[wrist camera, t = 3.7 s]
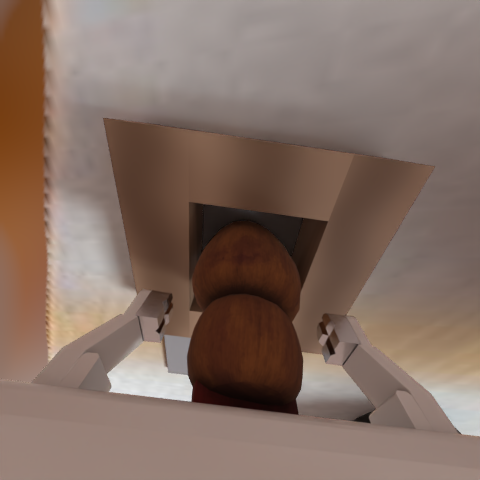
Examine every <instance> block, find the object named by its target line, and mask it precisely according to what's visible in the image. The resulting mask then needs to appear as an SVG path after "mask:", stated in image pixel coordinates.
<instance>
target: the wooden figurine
mask: <svg viewBox="0 0 480 480" xmlns="http://www.w3.org/2000/svg"><path fill="white" fill-rule="evenodd" d="M192 286H193V292H194V295H195V298H196V301H197V304H198V305H199V306H200V308H201V309H202V310H203V311H204V312H203V313H202V314H201V316H200V317H199V319H198V321H197V323H196V325H195V327H194V330H193V333H192V336H191V339H190V344H189V349H188V353H187V369H188V376H189V379H190V381H191V384H192V386H193V391H192V402H196V403H205V404H213V405H221V406H230V407H238V408H246V409H255V410H263V411H271V412H280V413H288V414H296V415H299V414H298V409H297V403H296V397H297V396H298V394H299V392H300V390H301V385H302V375H303V357H302V352H301V346H300V342H299V339H298V336H297V333H296V330H295V328H294V325H293V323H292V321H293V320H294V318H295V316H296V315H297V313H298V312H299V310H300V294H301V282H300V276H299V272H298V270H297V267H296V264H295V263H294V261H293V260H292V258H291V257H290V255H289V253H288V252H287V250H286V248H285V247H284V245H283V244H282V243H281V241H280V240H279V239H278V238H277V237H276V236H275V235H274V234H273V233H272V232H271V231H270V230H268V229H267V228H265V227H264V226H262V225H260V224H258V223H255V222H252V221H249V220H246V221H234V222H232V223H230V224H228V225H226V226H224V227H223V228H222V229H220V230H219V231H218V233H217V234H216V235H215V236H214V237H213V238H212V239H211V240H210V242H209V243H208V244H207V245H206V246H205V248H204V250H203V252H202V254H201V255H200V258H199V260H198V262H197V264H196V267H195V269H194V273H193V277H192Z"/></svg>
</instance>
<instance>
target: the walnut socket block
mask: <svg viewBox="0 0 480 480" xmlns="http://www.w3.org/2000/svg"><path fill="white" fill-rule="evenodd" d="M103 120H104V125H105V130H106V135H107V141H108V146H109V151H110V156H111V161H112V167H113V172H114V177H115V182H116V187H117V193H118V198H119V203H120V208H121V213H122V219H123V224H124V229H125V234H126V239H127V245H128V250H129V255H130V260H131V265H132V271H133V276H134V281H135V286H136V291H137V295H138V293H139V292H140V291H141V290H142V289H146V290H154V291H160V292H166V293H172V296H173V299H172V301H171V303H172V304H173V313H172V317H171V320H170V322H169V323H168V324H167V325H165V326H166V331H165V334H164V335H171V336H179V337H187V338H191V336H192V333H193V330H194V327H195V325H196V323H197V321H198V319H199V317H200V316H201V314H202V313H203V312H204V311H203V310H202V309H201V308H200V306H199V305H198V304H197V301H196V298H195V295H194V292H193V286H192V277H193V273H194V269H195V267H196V264H197V262H198V260H199V258H200V255H201V254H202V232H203V204H208V205H215V206H222V207H230V208H237V209H244V210H251V211H258V212H266V213H273V214H280V215H287V216H294V217H302V218H304V219H303V222H302V225H301V228H300V231H299V234H298V238H297V241H296V244H295V247H294V250H293V253H292V256H291V258H292V260H293V261H294V263H295V264H296V267H297V270H298V272H299V276H300V282H301V294H300V310H299V312H298V313H297V315H296V316H295V318H294V320H293V321H292V323H293V325H294V328H295V330H296V333H297V336H298V339H299V342H300V346H301V352H307V353H315V354H323V353H322V347H323V346H322V345H321V344H320V343H319V341H318V338H317V333H316V332H317V326H318V324H319V323H320V322H322V321H323V320H322V316H323V314H325V313H329V314H337V315H345V316H346V315H347V313H348V311H349V310H350V308H351V306H352V305H353V303H354V301H355V300H356V298H357V296H358V295H359V293H360V291H361V290H362V288H363V286H364V285H365V283H366V281H367V280H368V278H369V276H370V275H371V273H372V271H373V270H374V268H375V266H376V265H377V263H378V261H379V260H380V258H381V256H382V255H383V253H384V251H385V250H386V248H387V246H388V245H389V243H390V241H391V240H392V238H393V236H394V234H395V233H396V231H397V229H398V228H399V226H400V224H401V223H402V221H403V219H404V218H405V216H406V214H407V213H408V211H409V209H410V208H411V206H412V204H413V203H414V201H415V199H416V198H417V196H418V194H419V193H420V191H421V189H422V188H423V186H424V184H425V183H426V181H427V179H428V178H429V176H430V174H431V173H432V171H433V169H434V168H435V166H429V165H423V164H417V163H411V162H405V161H399V160H393V159H388V158H381V157H374V156H368V155H361V154H354V153H347V152H340V151H333V150H327V149H320V148H313V147H306V146H299V145H292V144H286V143H279V142H272V141H265V140H258V139H251V138H245V137H238V136H231V135H224V134H217V133H211V132H204V131H197V130H190V129H183V128H176V127H170V126H163V125H156V124H149V123H142V122H133V121H125V120H116V119H108V118H103Z"/></svg>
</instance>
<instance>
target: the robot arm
mask: <svg viewBox="0 0 480 480" xmlns="http://www.w3.org/2000/svg"><path fill="white" fill-rule="evenodd" d="M172 299H173V296H172V293H166V292H160V291H154V290H146V289H142V290H141V291H140V292H139V293H138V295H137V296H136V298H135V299H134V300H133V302H132V303H131V305H130V306H129V307H128V309H127V310H126V311H125V313H124V314H120V315H118V316H116V317H115V318H113V319H111V320H109V321H108V322H106V323H104V324H102V325H101V326H99V327H97V328H96V329H94V330H92V331H90V332H89V333H87V334H85V335H83V336H82V337H80V338H78V339H77V340H75V341H73V342H71V343H70V344H68V345H66V346H64V347H63V348H62V349H61V350H60V351H59V352H58V353H57V354H56V355H55V356H54V358H53V359H52V360H51V361H50V362H49V363H48V364H47V365H46V367H45V368H44V369H43V370H42V371H41V372H40V373H39V374H38V375H37V377H36V378H35V379H34V380H33V381H32V382H31V383H29V382H20V381H12V380H4V379H0V480H480V437H479V436H471V435H463V434H459V433H458V432H457V430H456V429H455V427H454V426H453V425H452V423H451V422H450V420H449V419H448V417H447V416H446V415H445V413H444V412H443V410H442V409H441V407H440V406H439V405H438V403H437V402H436V400H435V399H434V397H433V396H432V394H431V393H429V392H428V391H427V390H426V389H425V388H424V387H422V386H421V385H420V384H419V383H418V382H416V381H415V380H414V379H413V378H412V377H411V376H409V375H408V374H407V373H406V372H405V371H403V370H402V369H401V368H400V367H399V366H398V365H396V364H395V363H394V362H393V361H392V360H390V359H389V358H388V357H387V356H386V355H385V354H383V353H382V352H381V351H380V350H379V349H377V348H376V347H374V346H372V345H371V343H370V341H369V340H368V338H367V336H366V335H365V333H364V331H363V329H362V328H361V326H360V324H359V323H358V321H357V319H356V318H355V317H353V316H345V315H337V314H329V313H325V314H323V316H322V320H323V321H322V322H320V323H319V324H318V326H317V332H316V333H317V338H318V341H319V343H320V344H321V345H322V346H323V347H322V353H323V356H324V359H325V362H326V363H327V364H333V365H340V366H343V368H344V369H345V371H346V372H347V373H348V374H349V376H350V377H351V378H352V379H353V381H354V382H355V383H356V384H357V386H358V387H359V388H360V389H361V390H362V392H363V393H364V394H365V395H366V397H367V398H368V399H369V400H370V402H371V403H372V404H373V405H374V407H375V408H376V410H374V411H373V412H372V413H371V414H370V416H369V420H370V422H371V423H363V422H354V421H346V420H338V419H330V418H321V417H313V416H305V415H296V414H288V413H280V412H271V411H263V410H255V409H246V408H238V407H230V406H221V405H213V404H205V403H196V402H188V401H180V400H171V399H163V398H154V397H146V396H138V395H129V394H121V393H113V392H109V391H110V389H111V383H110V380H109V378H108V376H107V373H108V372H109V371H111V370H112V369H113V368H114V367H115V366H116V365H117V364H119V363H120V362H121V361H122V360H123V359H124V358H125V357H127V356H128V355H129V354H130V353H131V352H132V351H133V350H135V349H136V348H137V347H138V346H139V345H140V344H141V343H143V341H148V342H159V343H161V340H162V338H163V336H164V334H165V331H166V326H165V325H167V324H168V323H169V322H170V320H171V317H172V313H173V304H172V303H171V301H172Z"/></svg>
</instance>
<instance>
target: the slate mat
mask: <svg viewBox="0 0 480 480" xmlns="http://www.w3.org/2000/svg"><path fill="white" fill-rule="evenodd" d="M164 338H165V347H166V356H167V365H168V373H176V374H184V375H188V369H187V353H188V349H189V344H190V339H191V338H187V337H179V336H171V335H164Z"/></svg>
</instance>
